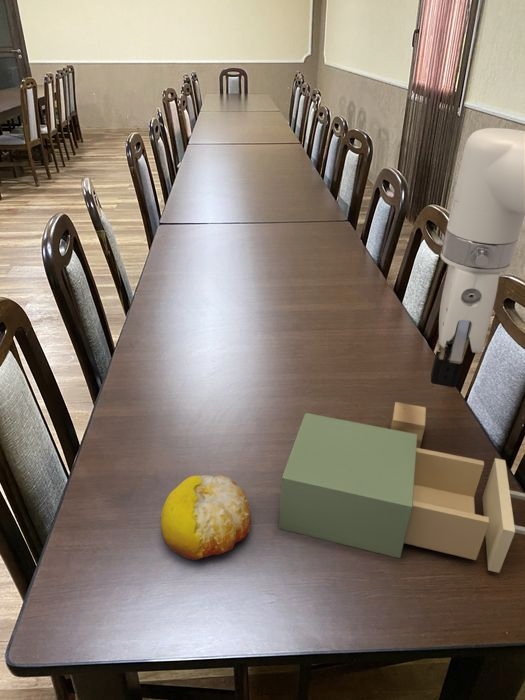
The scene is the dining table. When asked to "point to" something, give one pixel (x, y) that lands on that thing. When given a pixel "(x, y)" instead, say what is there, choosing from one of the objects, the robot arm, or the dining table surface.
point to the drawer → (461, 507)
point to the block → (409, 420)
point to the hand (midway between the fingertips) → (443, 381)
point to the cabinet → (349, 484)
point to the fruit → (205, 516)
